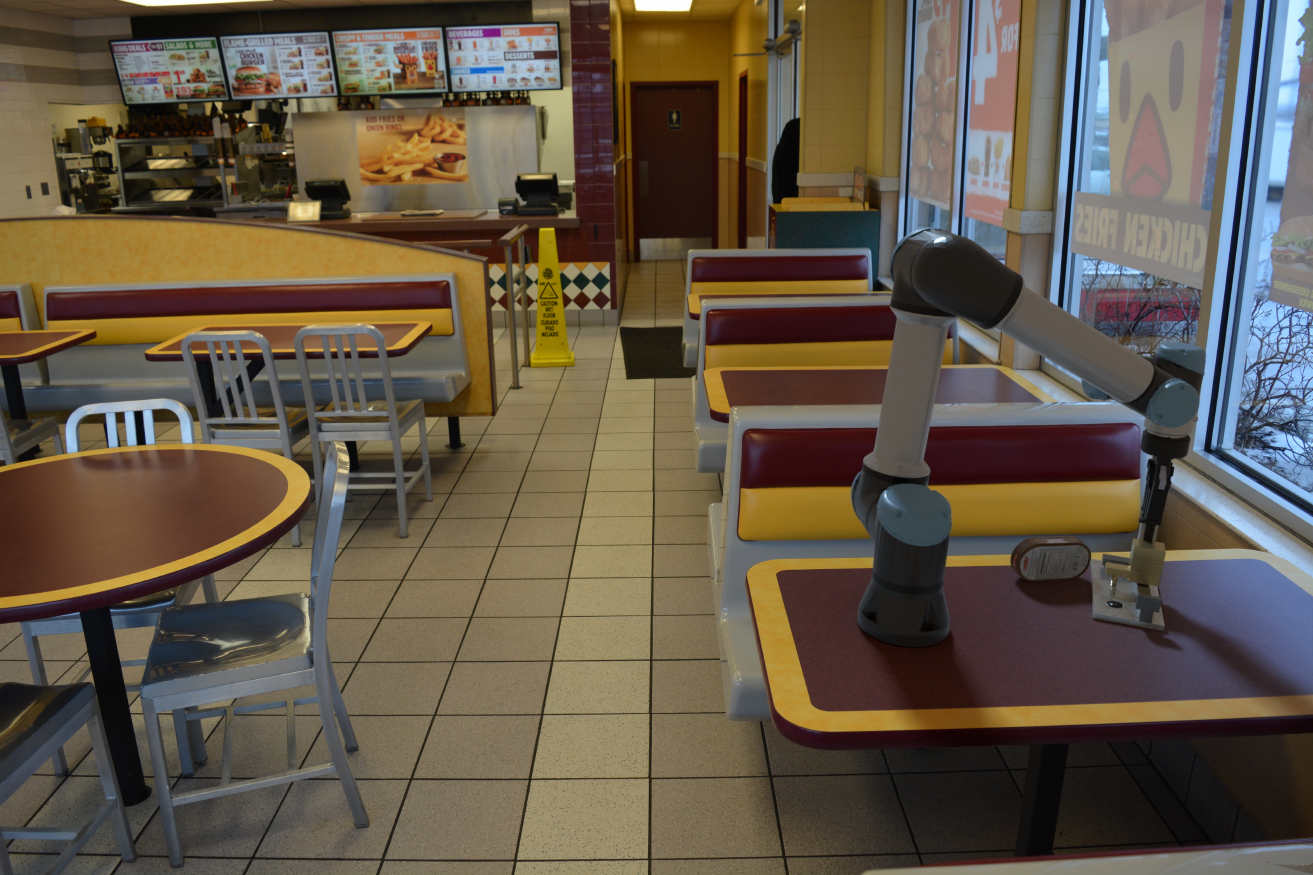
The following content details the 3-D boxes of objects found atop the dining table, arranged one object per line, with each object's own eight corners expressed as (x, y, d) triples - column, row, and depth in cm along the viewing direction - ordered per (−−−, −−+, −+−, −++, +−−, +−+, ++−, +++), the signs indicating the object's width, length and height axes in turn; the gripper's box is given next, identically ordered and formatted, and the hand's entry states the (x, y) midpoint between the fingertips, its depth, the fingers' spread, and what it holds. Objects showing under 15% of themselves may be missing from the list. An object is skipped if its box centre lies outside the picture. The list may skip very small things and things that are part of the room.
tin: (1081, 573, 183) (1088, 533, 180) (1090, 581, 180) (1097, 540, 177) (1006, 577, 181) (1012, 536, 178) (1014, 584, 178) (1020, 543, 175)
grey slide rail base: (1104, 614, 165) (1108, 590, 163) (1100, 560, 186) (1104, 538, 185) (1156, 624, 162) (1161, 599, 160) (1147, 567, 183) (1151, 545, 182)
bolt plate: (1092, 618, 166) (1093, 612, 165) (1090, 563, 187) (1091, 558, 187) (1163, 631, 162) (1164, 625, 161) (1153, 573, 183) (1154, 568, 183)
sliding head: (1103, 588, 174) (1111, 542, 171) (1102, 579, 177) (1110, 534, 175) (1156, 597, 171) (1165, 551, 168) (1155, 588, 174) (1164, 542, 171)
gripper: (1195, 445, 161) (1170, 572, 168) (1186, 424, 172) (1163, 544, 179) (1146, 439, 163) (1123, 565, 171) (1140, 419, 175) (1119, 538, 182)
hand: (1143, 554), depth 175 cm, fingers closed
